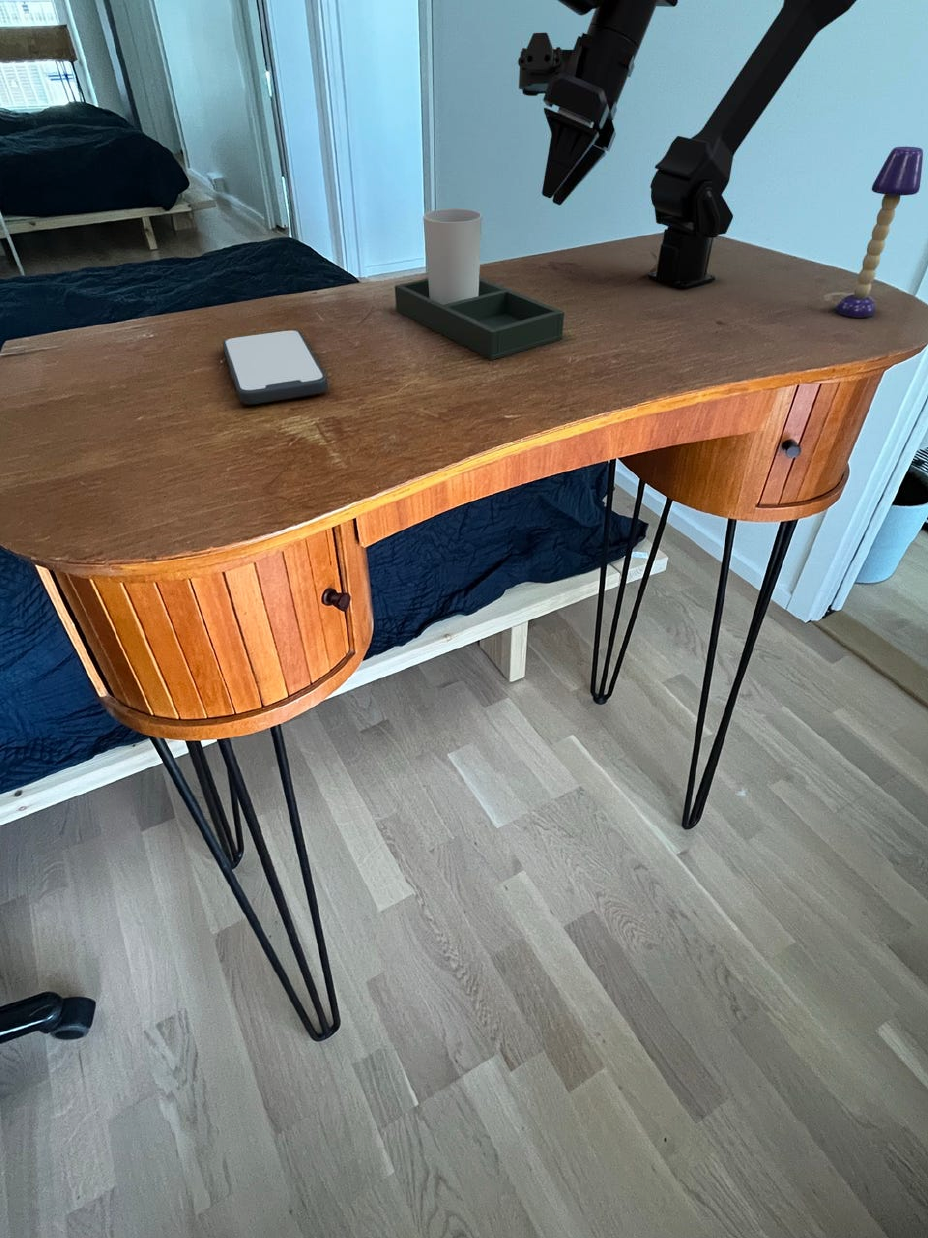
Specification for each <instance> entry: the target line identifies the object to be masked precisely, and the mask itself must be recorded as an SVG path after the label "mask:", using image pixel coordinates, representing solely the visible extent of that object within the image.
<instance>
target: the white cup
mask: <svg viewBox="0 0 928 1238" xmlns="http://www.w3.org/2000/svg"><path fill="white" fill-rule="evenodd" d="M422 221H423V231H424V232H423V233H424V243H425V246H424V247H425V255H426V267H427V268H426V269H427V278H428V282H429V294H430V299H432V300H434V301H436V302H438V303H440V304H442V305H445V304H449V303H453V302H457V301H461V300H465V299H469V298H473V297H477V296H478V293H479V277H480V272H481V271H480V269H481V268H480V267H481V250H482V249H481V247H482V246H481V245H482V226H483V225H482V224H483V213H481V212H480V211H478V210H474V209H471V208H469V209H468V208H457V207H454V208H453V207H451V208H450V207H449V208H438V209H434V210H430V211H427V212H425V213H424V214H423V215H422Z"/></svg>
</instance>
